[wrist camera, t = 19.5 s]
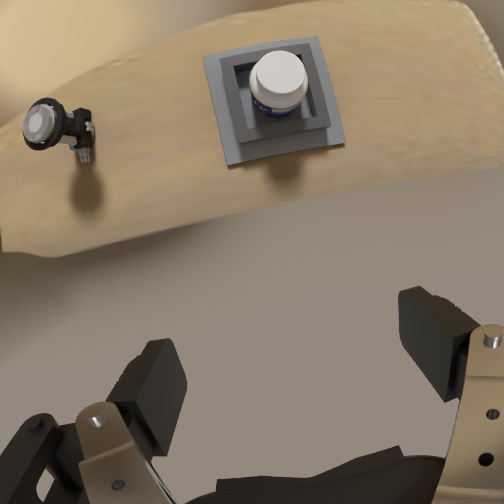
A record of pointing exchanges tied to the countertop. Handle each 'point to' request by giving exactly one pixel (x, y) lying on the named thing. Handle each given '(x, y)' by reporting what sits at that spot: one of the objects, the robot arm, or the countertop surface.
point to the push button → (58, 127)
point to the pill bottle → (278, 84)
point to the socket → (266, 128)
